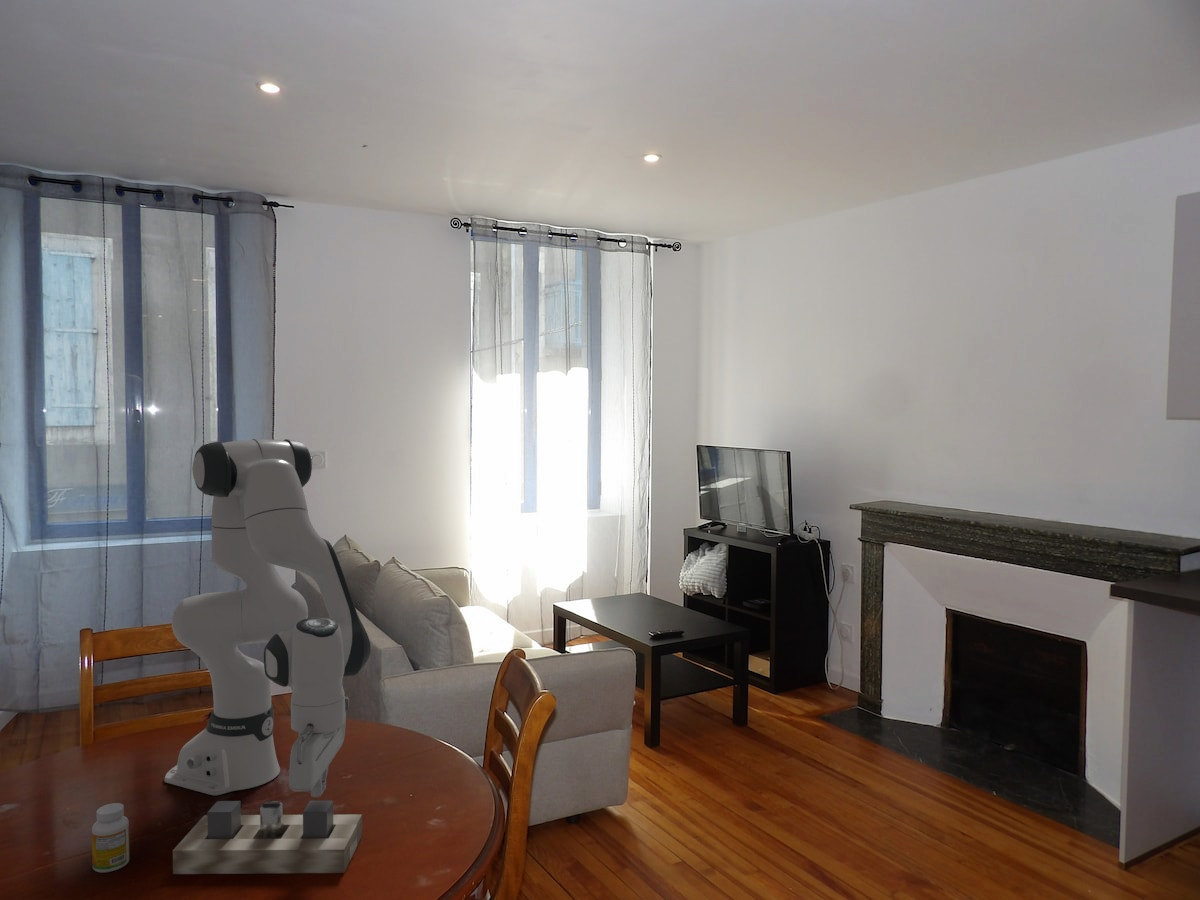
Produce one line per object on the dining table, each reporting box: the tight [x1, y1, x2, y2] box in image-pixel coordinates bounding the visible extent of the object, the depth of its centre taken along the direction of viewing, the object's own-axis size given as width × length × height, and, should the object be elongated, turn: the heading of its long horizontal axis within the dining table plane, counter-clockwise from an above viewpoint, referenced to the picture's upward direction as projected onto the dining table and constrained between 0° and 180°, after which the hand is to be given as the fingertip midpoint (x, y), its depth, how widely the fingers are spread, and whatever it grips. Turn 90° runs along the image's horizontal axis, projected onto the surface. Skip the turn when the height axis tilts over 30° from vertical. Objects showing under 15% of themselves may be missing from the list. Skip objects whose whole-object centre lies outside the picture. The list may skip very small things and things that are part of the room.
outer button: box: [302, 800, 334, 839], centre depth 146 cm, size 4×4×5 cm
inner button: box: [206, 800, 242, 839], centre depth 145 cm, size 4×4×5 cm
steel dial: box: [259, 800, 284, 839], centre depth 145 cm, size 4×4×6 cm
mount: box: [172, 813, 363, 875], centre depth 146 cm, size 28×12×4 cm, turn 92°
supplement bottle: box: [91, 802, 130, 874], centre depth 142 cm, size 5×5×10 cm
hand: (318, 793), depth 145 cm, fingers closed
